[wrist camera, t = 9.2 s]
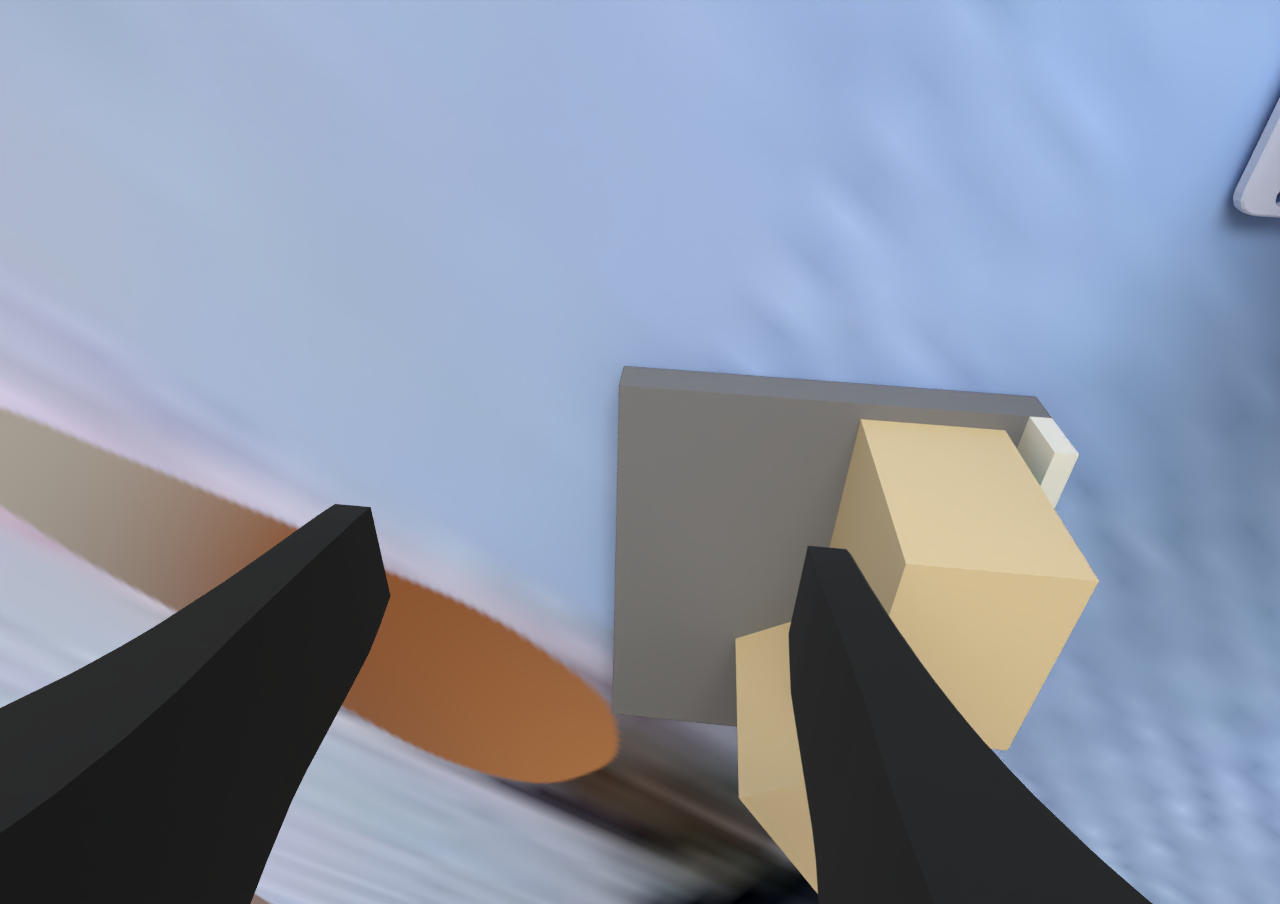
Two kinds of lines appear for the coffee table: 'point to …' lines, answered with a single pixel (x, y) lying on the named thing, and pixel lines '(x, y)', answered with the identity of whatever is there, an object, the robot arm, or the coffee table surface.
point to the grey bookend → (750, 512)
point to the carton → (772, 746)
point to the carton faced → (964, 562)
